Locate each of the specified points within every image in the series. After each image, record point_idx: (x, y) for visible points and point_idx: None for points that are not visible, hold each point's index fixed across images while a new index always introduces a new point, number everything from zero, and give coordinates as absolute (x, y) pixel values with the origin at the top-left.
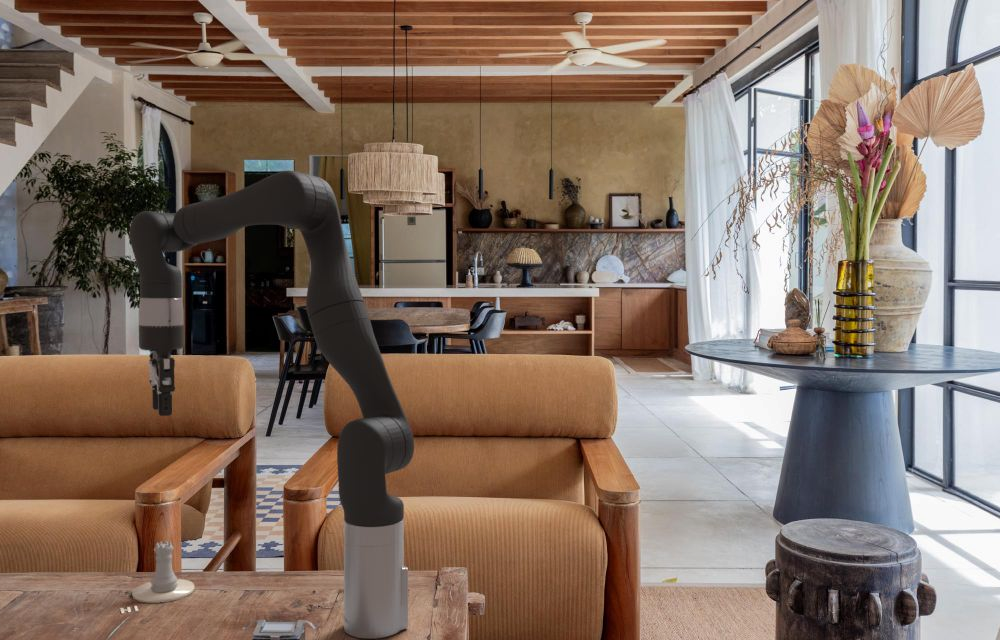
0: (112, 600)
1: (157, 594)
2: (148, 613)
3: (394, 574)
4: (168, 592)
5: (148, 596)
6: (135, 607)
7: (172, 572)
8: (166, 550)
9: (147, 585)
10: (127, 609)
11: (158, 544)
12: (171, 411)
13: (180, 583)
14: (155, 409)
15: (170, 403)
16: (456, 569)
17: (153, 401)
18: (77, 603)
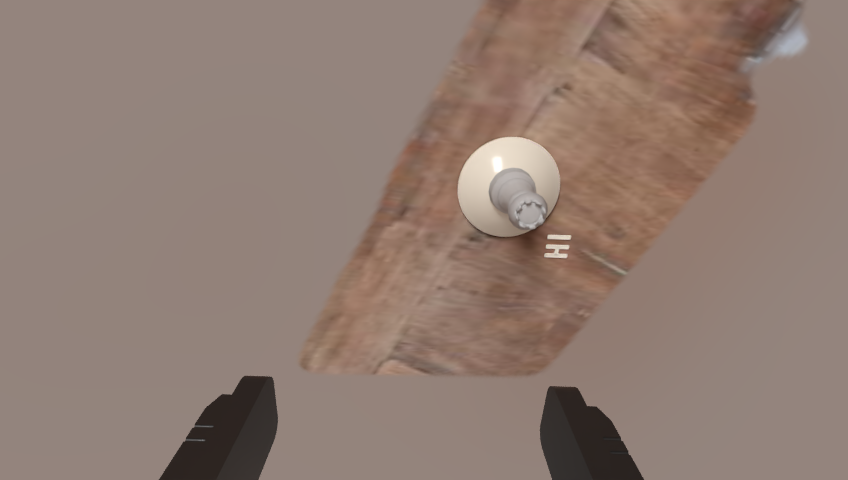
0: (498, 262)
1: None
2: (588, 223)
3: None
4: None
5: None
6: (554, 237)
7: (525, 183)
8: (547, 209)
9: (476, 210)
10: (556, 249)
11: (520, 223)
12: (579, 398)
13: (496, 158)
14: (276, 417)
15: (603, 449)
16: None
17: (258, 470)
18: (483, 304)
